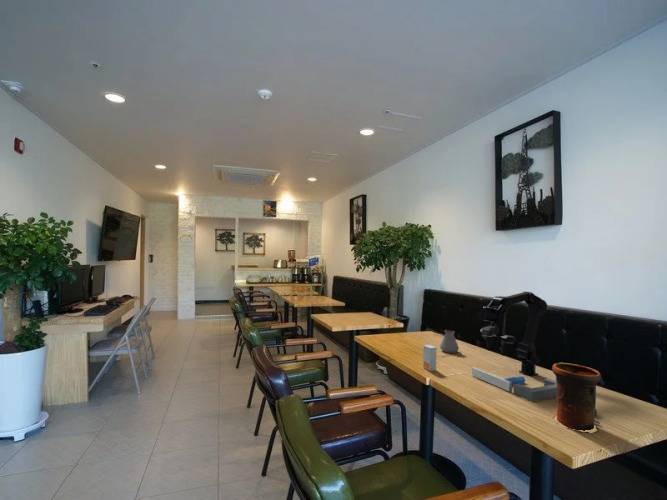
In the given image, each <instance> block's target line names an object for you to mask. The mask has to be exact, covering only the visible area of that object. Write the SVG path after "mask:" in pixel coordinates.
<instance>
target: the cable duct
mask: <svg viewBox="0 0 667 500" xmlns="http://www.w3.org/2000/svg"><path fill="white" fill-rule="evenodd" d="M556 387H557V382H556V380H553V379H550V378H544V379H543V385H542V386H538V387H531V388H530V387H528V386H526V385H523V384H522V383H521V384H514V385H513V394H514V395H516V396H519V397H521V398H523V399H525V400H528V401H529V402H532V403H533V402H539V401H542V400H547V399H548V398H549V399H553V398H552V397H554V398H556V395H557V391H556Z"/></svg>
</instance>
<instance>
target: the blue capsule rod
mask: <svg viewBox="0 0 667 500" xmlns="http://www.w3.org/2000/svg"><path fill="white" fill-rule="evenodd" d="M503 379H504V380H506V381H511V382H512V386H514V384H521V385H522V384H525V382H526V379H525V377H524V376H523V375H519V376H512V377H506V378H503Z"/></svg>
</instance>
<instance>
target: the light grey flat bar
mask: <svg viewBox="0 0 667 500" xmlns="http://www.w3.org/2000/svg"><path fill="white" fill-rule="evenodd" d="M471 376H472V377H475V378H477V379H479V380H482V381H484V382H486V383H489V384H491V385H493V386H494V387H495V386H496V387H498V388H499V389H502V390H504V391H506V392H509V393H513V385H512V382H511V381H506V380H504V379H505V378H501V377H498V376H497V375H494V374H491V373H488V372H486V371H483V370H482V369H479V368H476V367H475V366H472V367H471Z"/></svg>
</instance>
